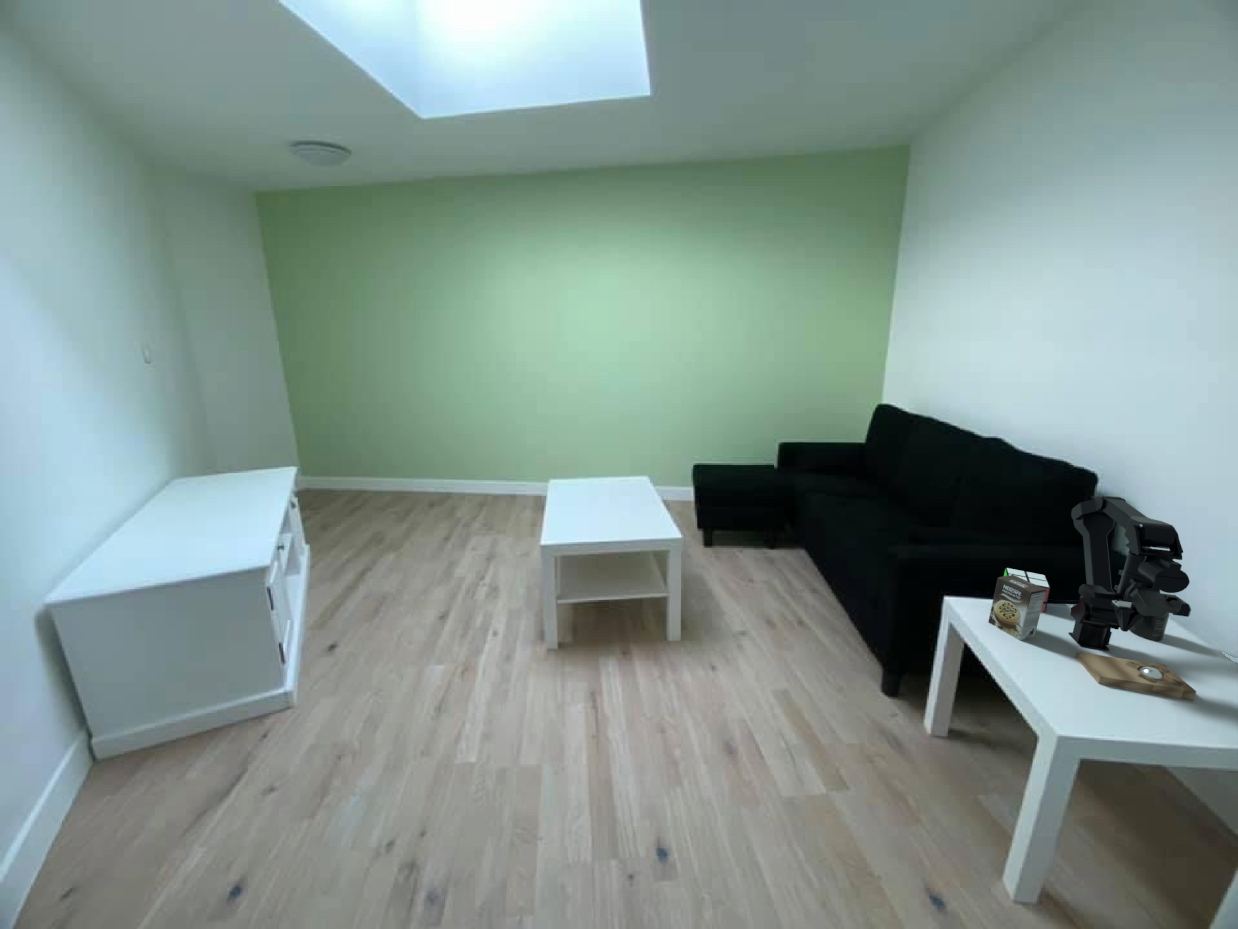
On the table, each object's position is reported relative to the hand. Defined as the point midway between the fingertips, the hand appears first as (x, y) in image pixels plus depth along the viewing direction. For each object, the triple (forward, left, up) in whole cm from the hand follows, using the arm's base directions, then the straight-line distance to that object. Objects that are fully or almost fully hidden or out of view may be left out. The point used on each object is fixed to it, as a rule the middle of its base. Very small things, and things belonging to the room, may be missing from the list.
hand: (1123, 630), depth 122 cm
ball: (+4, -2, -10) cm, 11 cm away
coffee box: (-17, +12, -12) cm, 24 cm away
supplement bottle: (+19, +22, -12) cm, 31 cm away
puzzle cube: (-7, +31, -12) cm, 34 cm away
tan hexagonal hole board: (+3, -2, -12) cm, 12 cm away
